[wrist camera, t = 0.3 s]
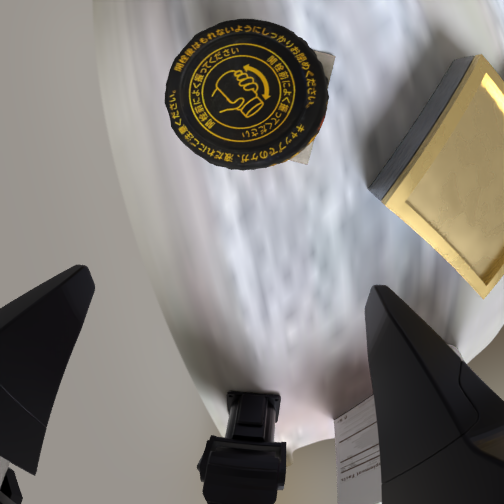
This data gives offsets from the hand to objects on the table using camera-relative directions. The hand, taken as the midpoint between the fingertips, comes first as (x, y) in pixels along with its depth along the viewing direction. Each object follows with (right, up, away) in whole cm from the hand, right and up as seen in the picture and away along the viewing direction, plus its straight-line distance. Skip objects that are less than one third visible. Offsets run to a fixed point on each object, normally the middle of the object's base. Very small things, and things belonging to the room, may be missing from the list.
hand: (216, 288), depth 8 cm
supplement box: (+18, -21, +24) cm, 37 cm away
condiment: (+2, +12, +10) cm, 16 cm away
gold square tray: (+20, +9, +9) cm, 24 cm away
